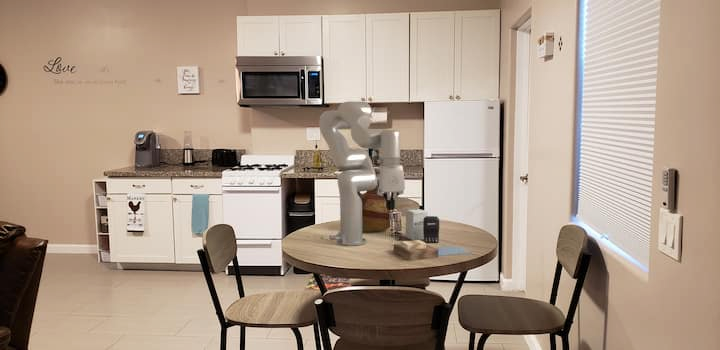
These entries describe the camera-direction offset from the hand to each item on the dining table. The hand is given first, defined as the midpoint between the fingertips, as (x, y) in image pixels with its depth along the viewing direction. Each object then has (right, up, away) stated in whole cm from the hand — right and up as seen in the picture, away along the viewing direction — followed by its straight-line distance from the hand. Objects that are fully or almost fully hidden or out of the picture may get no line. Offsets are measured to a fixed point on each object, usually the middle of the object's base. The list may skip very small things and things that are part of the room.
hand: (390, 209), depth 211 cm
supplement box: (+14, -15, +35) cm, 41 cm away
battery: (+19, -16, +27) cm, 37 cm away
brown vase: (-7, -14, +53) cm, 55 cm away
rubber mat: (+23, -18, +11) cm, 31 cm away
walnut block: (+10, -18, +6) cm, 22 cm away
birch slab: (+9, -14, +5) cm, 18 cm away
